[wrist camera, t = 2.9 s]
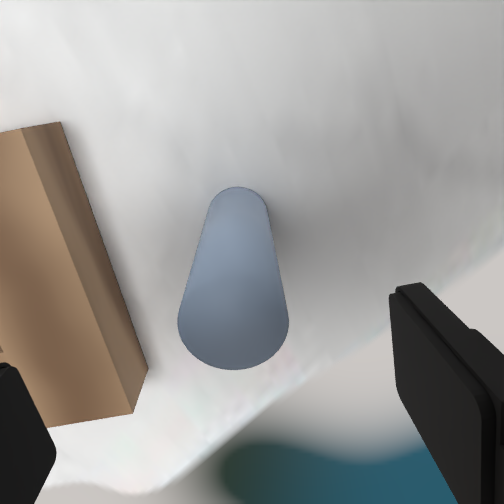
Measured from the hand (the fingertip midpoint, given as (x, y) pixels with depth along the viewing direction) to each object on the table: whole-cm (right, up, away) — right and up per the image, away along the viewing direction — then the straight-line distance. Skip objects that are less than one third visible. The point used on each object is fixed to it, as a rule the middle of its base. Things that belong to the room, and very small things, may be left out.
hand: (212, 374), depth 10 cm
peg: (0, +5, +10) cm, 11 cm away
